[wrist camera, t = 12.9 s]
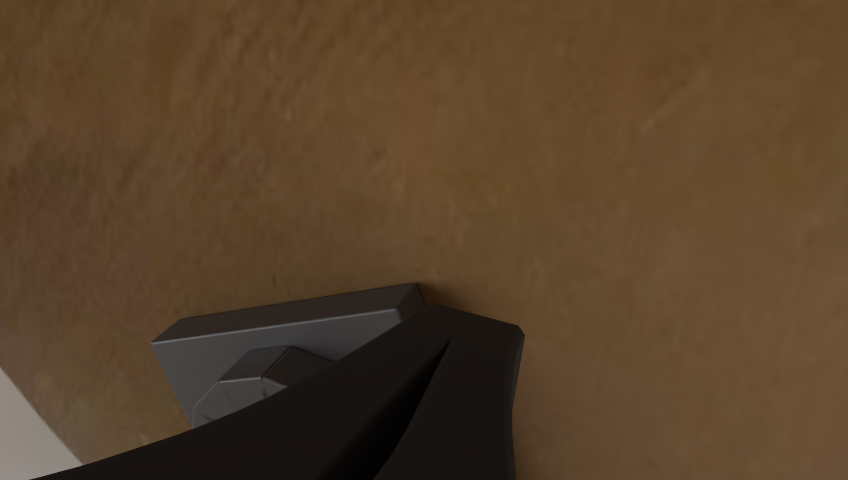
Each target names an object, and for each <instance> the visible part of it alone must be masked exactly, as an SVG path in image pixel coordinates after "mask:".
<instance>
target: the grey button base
mask: <svg viewBox="0 0 848 480" xmlns="http://www.w3.org/2000/svg"><path fill="white" fill-rule="evenodd" d="M423 308H425V304H424V301H423V299H422V296H421V293H420V290H419V288H418V285H417V283H411V284H404V285H398V286H392V287H385V288H379V289H372V290H366V291H359V292H353V293H347V294H340V295H334V296H327V297H321V298H315V299H308V300H302V301H295V302H289V303H282V304H276V305H270V306H263V307H257V308H250V309H244V310H238V311H231V312H225V313H218V314H212V315H205V316H199V317H193V318H186V319H180V320H178V321H177V322H176V323H174V324H173V325H172V326H171V327H169V328H168V329H167V330H166V331H164V332H163V333H162V334H161V335H159V336H158V337H157V338H156V339H154V340H153V341H152V342H151V346H152V348H153V350H154V352H155V354H156V356H157V358H158V360H159V362H160V364H161V366H162V368H163V370H164V372H165V374H166V376H167V378H168V380H169V382H170V384H171V386H172V388H173V390H174V392H175V394H176V396H177V398H178V400H179V402H180V404H181V406H182V408H183V410H184V412H185V414H186V416H187V418H188V420H189V421H190V423H191V425H192V427H193V429H194V428H196V427H199V426H201V425H204V424H206V423H209V422H211V421H214V420H216V419H219V418H221V417H224V416H226V415H229V414H231V413H233V412H236V411H238V410H240V409H242V408H245V407H247V406H249V405H251V404H254V403H256V402H258V401H260V400H262V399H264V398H267V397H269V396H271V395H273V394H274V393H276V392H278V391H280V390H282V389H284V388H286V387H288V386H290V385H292V384H294V383H296V382H298V381H300V380H302V379H304V378H305V377H307V376H309V375H311V374H313V373H315V372H317V371H319V370H321V369H323V368H325V367H326V366H328V365H330V364H331V363H333V362H335V361H337V360H338V359H340V358H342V357H343V356H345V355H347V354H349V353H350V352H352V351H354V350H356V349H357V348H359V347H361V346H362V345H364V344H366V343H367V342H369V341H371V340H372V339H374V338H376V337H377V336H379V335H380V334H382V333H384V332H385V331H387V330H389V329H390V328H392V327H393V326H395V325H397V324H398V323H400V322H401V321H403V320H405V319H406V318H408V317H410V316H411V315H413V314H415V313H416V312H418V311H420V310H422V309H423Z"/></svg>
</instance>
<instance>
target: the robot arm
mask: <svg viewBox="0 0 848 480" xmlns="http://www.w3.org/2000/svg"><path fill="white" fill-rule="evenodd" d="M524 338H525V335H524V333H523V332H522V330H521V329H520V328H519V326H518V325H514V324H510V323H506V322H502V321H499V320H495V319H491V318H487V317H483V316H480V315H476V314H472V313H468V312H464V311H461V310H457V309H453V308H449V307H445V306H442V305H438V304H434V303H432V304H430V305H428V306H427V307H425V308H423V309H422V310H420V311H418V312H416V313H415V314H413V315H411V316H410V317H408V318H406V319H405V320H403V321H401V322H400V323H398V324H397V325H395V326H393V327H392V328H390V329H389V330H387V331H385V332H384V333H382V334H380V335H379V336H377V337H376V338H374V339H372V340H371V341H369V342H367V343H366V344H364V345H362V346H361V347H359V348H357V349H356V350H354V351H352V352H350V353H349V354H347V355H345V356H343V357H342V358H340V359H338V360H337V361H335V362H333V363H331V364H330V365H328V366H326V367H325V368H323V369H321V370H319V371H317V372H315V373H313V374H311V375H309V376H307V377H305V378H304V379H302V380H300V381H298V382H296V383H294V384H292V385H290V386H288V387H286V388H284V389H282V390H280V391H278V392H276V393H274V394H273V395H271V396H269V397H267V398H264V399H262V400H260V401H258V402H256V403H254V404H251V405H249V406H247V407H245V408H242V409H240V410H238V411H236V412H233V413H231V414H229V415H226V416H224V417H221V418H219V419H216V420H214V421H211V422H209V423H206V424H204V425H201V426H199V427H196V428H194V429H191V430H189V431H186V432H183V433H181V434H178V435H175V436H173V437H170V438H166V439H163V440H160V441H157V442H154V443H151V444H148V445H145V446H142V447H139V448H136V449H133V450H130V451H127V452H124V453H121V454H118V455H115V456H112V457H109V458H105V459H102V460H99V461H96V462H93V463H90V464H86V465H83V466H80V467H76V468H72V469H68V470H65V471H61V472H57V473H54V474H50V475H46V476H43V477H39V478H35V479H31V480H516V474H515V464H514V453H513V438H512V407H513V401H514V395H515V390H516V384H517V378H518V372H519V367H520V361H521V355H522V349H523V344H524Z"/></svg>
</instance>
